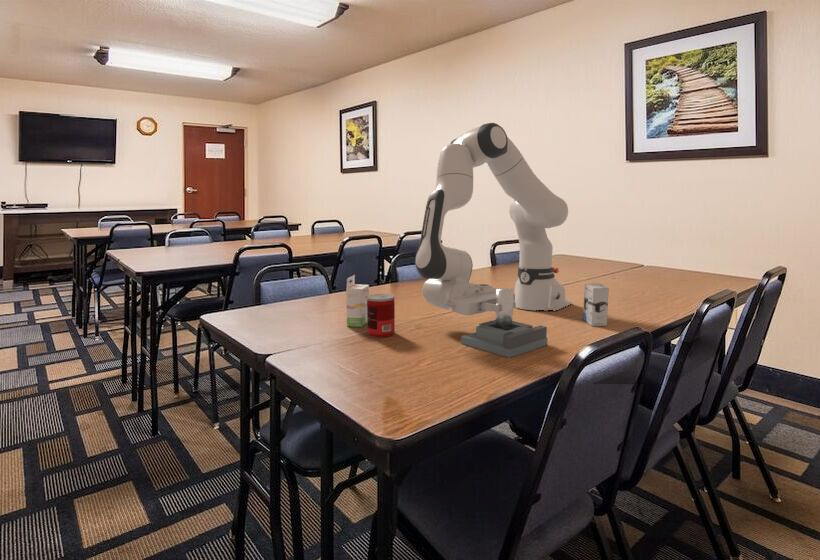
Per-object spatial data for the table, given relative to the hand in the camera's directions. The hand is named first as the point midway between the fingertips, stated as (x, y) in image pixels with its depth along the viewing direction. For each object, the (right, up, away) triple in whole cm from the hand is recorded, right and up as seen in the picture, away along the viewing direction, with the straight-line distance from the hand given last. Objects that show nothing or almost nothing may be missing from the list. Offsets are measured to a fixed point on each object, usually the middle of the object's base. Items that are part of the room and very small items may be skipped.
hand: (507, 306), depth 134 cm
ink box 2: (+32, -6, +25) cm, 41 cm away
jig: (0, -10, +2) cm, 10 cm away
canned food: (-34, -9, +13) cm, 37 cm away
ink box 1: (-41, -7, +25) cm, 49 cm away
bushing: (-1, -7, +2) cm, 8 cm away
